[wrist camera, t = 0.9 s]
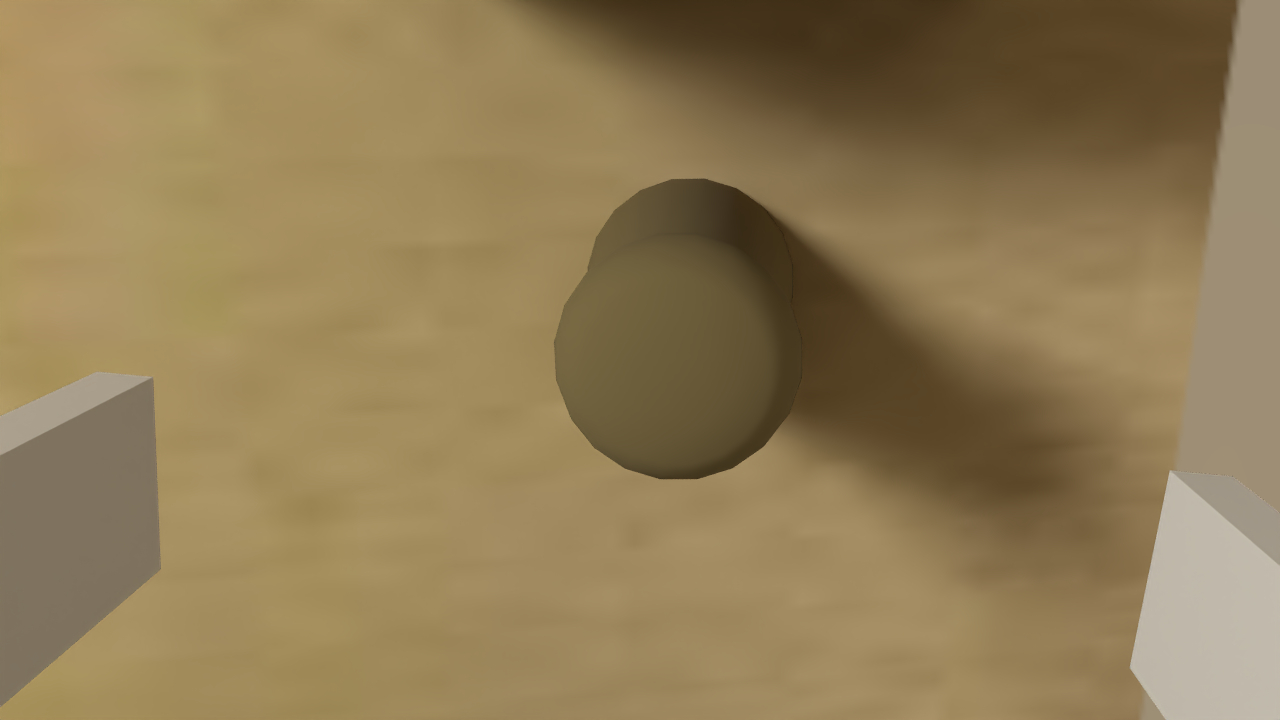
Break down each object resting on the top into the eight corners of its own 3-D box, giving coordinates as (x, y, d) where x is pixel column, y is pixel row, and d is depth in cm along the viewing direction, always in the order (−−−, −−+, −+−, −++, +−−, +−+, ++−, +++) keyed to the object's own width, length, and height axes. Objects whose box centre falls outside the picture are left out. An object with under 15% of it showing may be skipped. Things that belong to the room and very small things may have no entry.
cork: (808, 364, 32) (851, 498, 22) (608, 396, 33) (555, 541, 22) (776, 160, 31) (805, 196, 20) (568, 198, 32) (491, 252, 21)
